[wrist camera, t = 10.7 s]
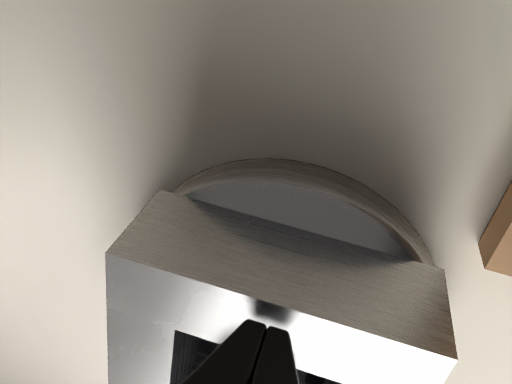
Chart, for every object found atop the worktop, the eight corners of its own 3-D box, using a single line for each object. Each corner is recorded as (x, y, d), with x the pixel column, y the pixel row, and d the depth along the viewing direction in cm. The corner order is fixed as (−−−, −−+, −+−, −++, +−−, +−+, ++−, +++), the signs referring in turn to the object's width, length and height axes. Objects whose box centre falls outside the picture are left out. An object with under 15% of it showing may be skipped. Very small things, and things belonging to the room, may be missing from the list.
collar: (444, 269, 11) (457, 360, 8) (358, 435, 14) (353, 527, 12) (159, 189, 11) (105, 252, 9) (149, 365, 15) (109, 440, 13)
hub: (495, 212, 11) (567, 417, 7) (381, 420, 16) (378, 622, 11) (150, 121, 12) (5, 242, 8) (142, 341, 17) (50, 496, 12)
